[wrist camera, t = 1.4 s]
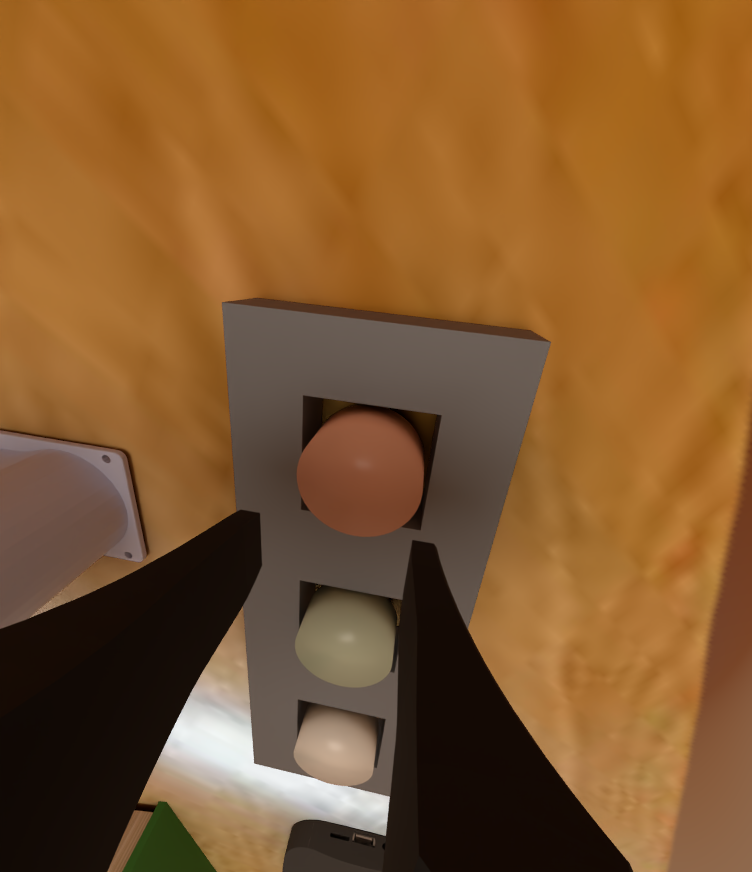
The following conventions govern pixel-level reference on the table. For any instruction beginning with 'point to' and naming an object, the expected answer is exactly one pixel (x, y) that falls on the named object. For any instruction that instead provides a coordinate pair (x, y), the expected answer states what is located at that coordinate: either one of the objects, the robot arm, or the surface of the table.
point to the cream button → (337, 745)
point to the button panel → (346, 554)
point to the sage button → (347, 637)
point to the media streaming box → (332, 849)
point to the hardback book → (158, 845)
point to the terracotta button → (363, 471)
